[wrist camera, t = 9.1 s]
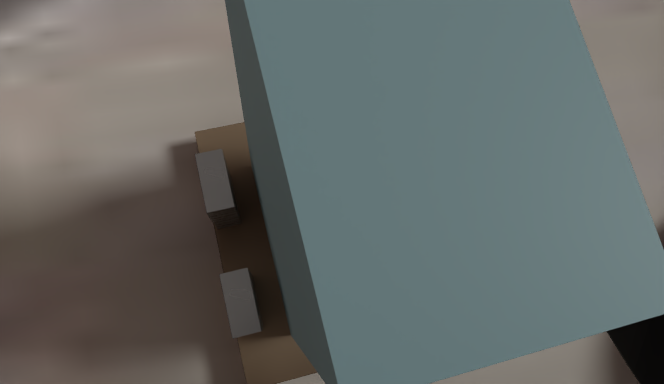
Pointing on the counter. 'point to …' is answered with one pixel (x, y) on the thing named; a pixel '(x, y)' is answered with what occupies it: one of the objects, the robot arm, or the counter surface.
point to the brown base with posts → (246, 259)
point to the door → (439, 183)
